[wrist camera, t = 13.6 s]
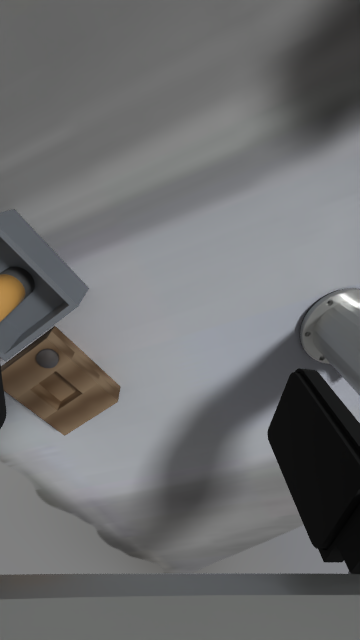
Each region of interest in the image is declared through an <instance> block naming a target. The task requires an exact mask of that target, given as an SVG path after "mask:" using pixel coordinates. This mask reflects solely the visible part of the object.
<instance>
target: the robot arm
mask: <svg viewBox="0 0 360 640" xmlns="http://www.w3.org/2000/svg"><path fill="white" fill-rule="evenodd" d="M300 340H301V344H302V346H303V349H304V350H305V351H306V352H307V354H308V355H309V356H310V357H311V358H313V359H314V360H316V361H318V362H321V363H326V364H331V365H332V366H333V367H334V368H335V369H336V370H337V371H338V372H339V373H340V375H341V376H342V377H343V378H344V379H345V380H346V381H347V382H348V383H349V384H350V386H351V387H352V388H353V389H354V390H355V391H356V392H357V393H358V394H359V395H360V289H357V288H347V289H342V290H338V291H335V292H333V293H330V294H328V295H327V296H325V297H323V298H322V299H321V300H319V301H318V302H317V303H316V304H315V305H314V306H313V307H312V308H311V309H310V310H309V312H308V313H307V314H306V316H305V318H304V320H303V322H302V325H301V329H300ZM5 418H6V405H5V397H4V389H3V381H2V374H1V366H0V429H1V427H2V425H3V423H4V421H5ZM268 440H269V442H270V445H271V447H272V450H273V452H274V454H275V457H276V459H277V462H278V464H279V466H280V469H281V471H282V474H283V476H284V478H285V481H286V483H287V485H288V488H289V490H290V493H291V495H292V497H293V500H294V502H295V505H296V507H297V509H298V512H299V514H300V517H301V519H302V521H303V524H304V526H305V528H306V531H307V533H308V536H309V538H310V540H311V542H312V544H313V546H314V547H315V548H318V549H319V552H320V554H321V556H322V559H323V561H324V562H343V561H345V563H346V565H347V567H348V569H349V572H348V574H40V575H39V574H33V575H0V640H360V423H359V422H358V421H357V420H356V418H355V417H354V416H353V415H352V413H351V412H350V411H349V410H348V409H347V407H346V406H345V405H344V404H343V402H342V401H341V400H340V399H339V397H338V396H337V395H336V394H335V393H334V391H333V390H332V389H331V388H330V386H329V385H328V384H327V383H326V381H325V380H324V379H323V378H322V376H321V375H320V374H319V373H318V372H317V371H315V370H308V369H297V370H296V371H295V372H293V373H291V375H290V376H289V379H288V381H287V384H286V386H285V389H284V391H283V394H282V396H281V399H280V401H279V404H278V406H277V409H276V411H275V414H274V416H273V419H272V421H271V424H270V426H269V429H268Z"/></svg>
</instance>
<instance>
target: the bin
mask: <svg viewBox="0 0 360 640" xmlns="http://www.w3.org/2000/svg"><path fill="white" fill-rule="evenodd" d="M9 267H20V268H23V269H25V270H26V271H28V272H29V273H30V274H31V275H32V277H33V279H34V282H35V287H34V290H33V292H32V293H31V294H30V295H29V296H28V297H26V298H25V299H24V300H23V301H22V302H21V303H20V304H19V305H18V306H17V307H16V308H15V309H13V310H12V311H11V312H10V313H9V314H8V315H7V316H6V317H5V318H4V319H3V320H2V321H1V322H0V358H2V359H3V360H4V361H6V360H8V359H9V358H10V357H12V356H13V355H14V354H16V353H17V352H18V351H20V350H21V349H22V348H24V347H25V346H26V345H28V344H29V343H30V342H32V341H33V340H34V339H35V338H37V337H38V336H39V335H41V334H42V333H43V332H45V331H46V330H47V329H49V328H50V327H51V326H53V325H54V324H55V323H57V322H58V321H59V320H61V319H62V318H63V317H65V316H66V315H67V314H69V313H70V312H71V311H73V310H74V309H75V308H76V307H78V306H79V304H80V302H81V301H82V299H83V297H84V296H85V294H86V292H87V291H88V289H89V288H88V287H87V286H86V285H85V284H84V282H83V281H82V280H81V279H80V278H79V277H78V276H77V275H76V274H75V273H74V272H73V271H72V270H71V269H70V268H69V267H68V265H67V264H66V263H65V262H64V261H63V260H62V259H61V258H60V257H59V256H58V255H57V254H56V253H55V252H54V251H53V250H52V248H51V247H50V246H49V245H48V244H47V243H46V242H45V241H44V240H43V239H42V238H41V237H40V236H39V235H38V234H37V233H36V231H35V230H34V229H33V228H32V227H31V226H30V225H29V224H28V223H27V222H26V221H25V220H24V219H23V218H22V217H21V216H20V214H19V213H18V212H17V211H16V210H15V209H13V210H9V211H5V212H1V213H0V273H1V272H2V271H4V270H5V269H7V268H9Z"/></svg>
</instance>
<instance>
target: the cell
mask: <svg viewBox="0 0 360 640" xmlns="http://www.w3.org/2000/svg"><path fill="white" fill-rule="evenodd" d="M34 287H35V282H34V279H33V277H32V275H31V274H30V273H29V272H28V271H26V270H25V269H23V268H20V267H9V268H7V269H5V270H4V271H2V272H1V273H0V322H1V321H2V320H3V319H4V318H5V317H6V316H7V315H8V314H9V313H10V312H11V311H12V310H13V309H15V308H16V307H17V306H18V305H19V304H20V303H21V302H22V301H23V300H24V299H25V298H26V297H28V296H29V295H30V294H31V293H32V292H33V290H34Z"/></svg>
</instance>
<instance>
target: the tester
mask: <svg viewBox="0 0 360 640" xmlns="http://www.w3.org/2000/svg"><path fill="white" fill-rule="evenodd" d="M1 374H2V381H3V389H4V391H5V392H7V393H8V394H9V395H11V396H12V397H13V398H15V399H16V400H17V401H19V402H20V403H21V404H23V405H24V406H25V407H27V408H28V409H29V410H31V411H32V412H34V413H35V414H36V415H38V416H39V417H40V418H42V419H43V420H44V421H46V422H47V423H48V424H50V425H51V426H52V427H54V428H55V429H56V430H58V431H59V432H60V433H62V434H63V435H66V434H68V433H70V432H71V431H73V430H74V429H76V428H77V427H79V426H81V425H82V424H84V423H85V422H87V421H88V420H90V419H92V418H93V417H95V416H96V415H98V414H99V413H101V412H103V411H104V410H106V409H107V408H109V407H110V406H112V405H114V404H115V403H117V402H118V398H119V392H120V386H119V385H118V384H117V383H116V382H115V381H114V380H113V379H112V378H111V377H109V376H108V375H107V374H106V373H105V372H104V371H103V370H102V369H101V368H100V367H99V366H98V365H97V364H95V363H94V362H93V361H92V360H91V359H90V358H89V357H88V356H87V355H86V354H85V353H84V352H83V351H81V350H80V349H79V348H78V347H77V346H76V345H75V344H74V343H73V342H72V341H71V340H70V339H69V338H67V337H66V336H65V335H64V334H63V333H62V332H61V331H60V330H59V329H58V328H57V327H56V326H54V327H53V328H52V329H50V330H49V331H48V332H46V333H45V334H44V335H42V336H41V337H40V338H38V339H37V340H36V341H34V342H33V343H32V344H30V345H29V346H28V347H26V348H25V349H24V350H22V351H21V352H20V353H18V354H17V355H16V356H14V357H13V358H12V359H11V360H9V361H8V362H7V363H5V364H4V365H3V366H2V367H1Z"/></svg>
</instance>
